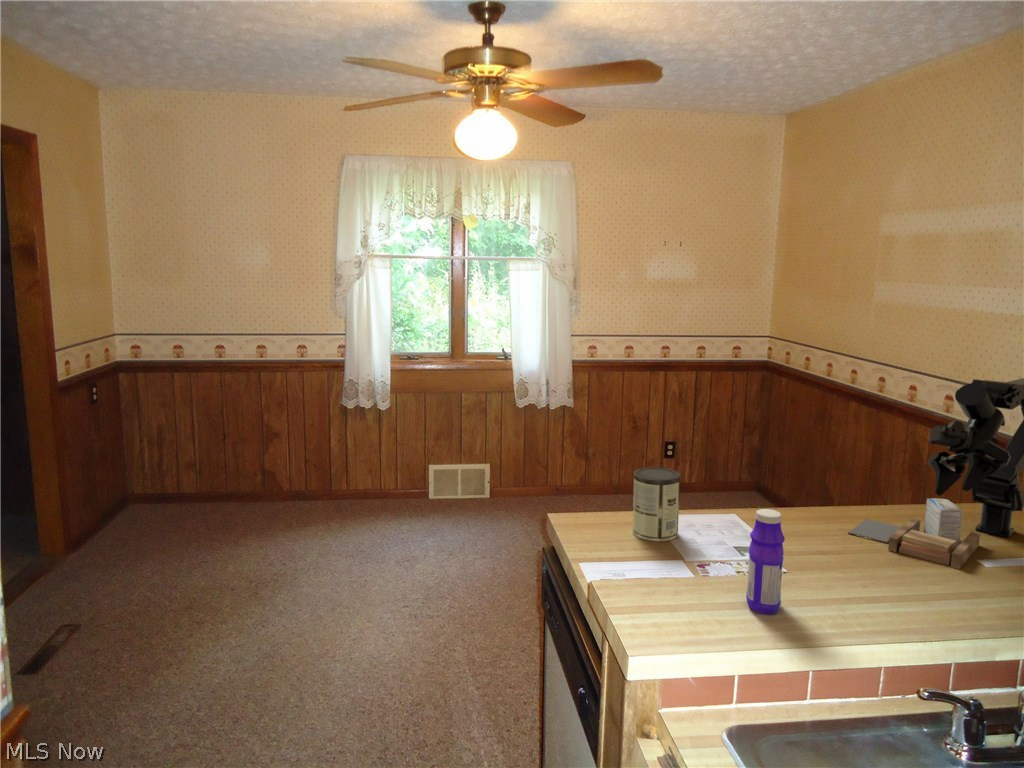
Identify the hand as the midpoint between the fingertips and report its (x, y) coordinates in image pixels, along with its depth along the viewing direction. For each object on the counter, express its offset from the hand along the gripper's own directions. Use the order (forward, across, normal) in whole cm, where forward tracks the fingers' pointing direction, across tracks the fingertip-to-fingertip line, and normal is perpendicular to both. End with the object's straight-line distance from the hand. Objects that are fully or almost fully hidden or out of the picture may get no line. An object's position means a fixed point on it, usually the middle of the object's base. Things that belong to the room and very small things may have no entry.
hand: (950, 492), depth 143 cm
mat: (+11, -15, -4) cm, 19 cm away
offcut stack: (+13, -3, +3) cm, 14 cm away
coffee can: (+39, -14, -46) cm, 62 cm away
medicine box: (+7, -10, +7) cm, 14 cm away
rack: (+10, -6, +5) cm, 13 cm away
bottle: (+44, +18, -28) cm, 55 cm away
